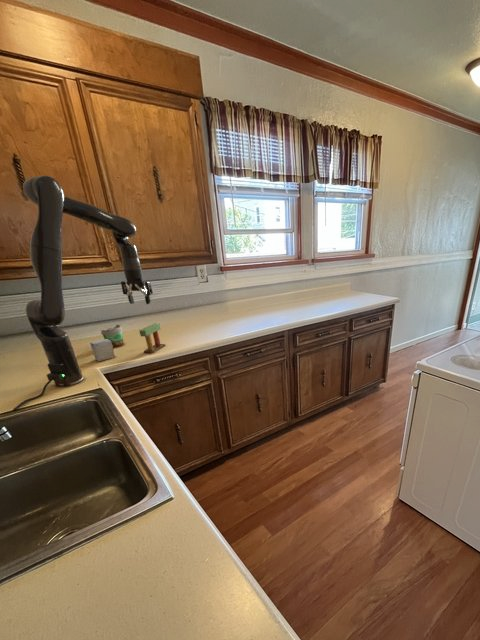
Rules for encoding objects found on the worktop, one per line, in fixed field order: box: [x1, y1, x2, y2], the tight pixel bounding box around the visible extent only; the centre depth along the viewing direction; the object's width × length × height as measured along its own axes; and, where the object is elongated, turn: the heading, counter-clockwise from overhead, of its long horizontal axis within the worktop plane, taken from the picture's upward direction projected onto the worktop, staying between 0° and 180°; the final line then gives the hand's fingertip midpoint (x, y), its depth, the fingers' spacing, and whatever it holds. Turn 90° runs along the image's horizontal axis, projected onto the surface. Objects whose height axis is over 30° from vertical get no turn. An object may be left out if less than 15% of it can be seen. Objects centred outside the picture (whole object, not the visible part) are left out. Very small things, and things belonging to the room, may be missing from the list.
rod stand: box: [143, 330, 166, 354], centre depth 170 cm, size 5×12×9 cm, turn 171°
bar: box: [139, 322, 162, 338], centre depth 167 cm, size 3×14×3 cm, turn 171°
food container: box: [100, 324, 125, 349], centre depth 175 cm, size 12×6×10 cm, turn 168°
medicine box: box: [90, 338, 116, 362], centre depth 158 cm, size 8×4×9 cm, turn 141°
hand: (140, 303), depth 159 cm, fingers open, 8 cm apart
